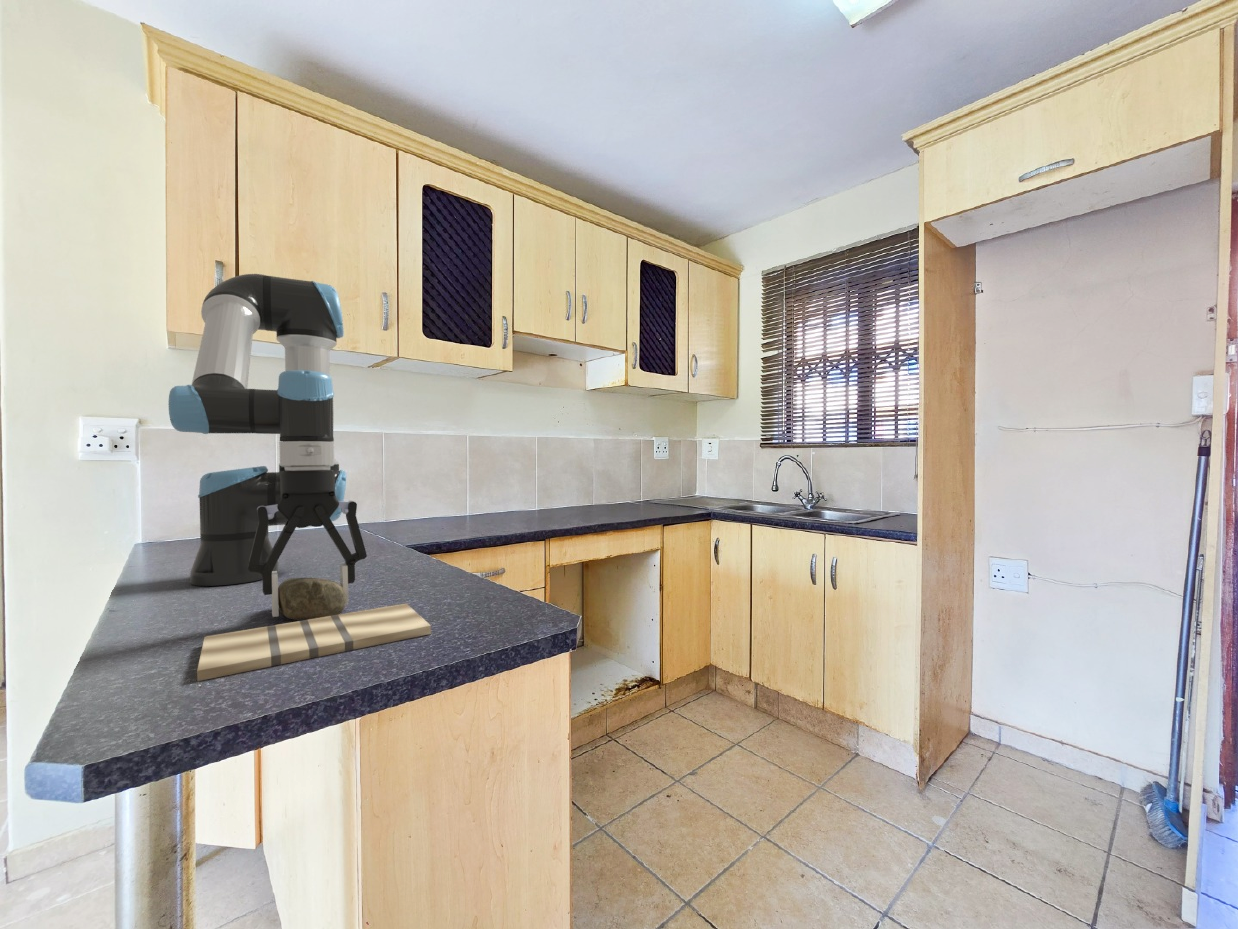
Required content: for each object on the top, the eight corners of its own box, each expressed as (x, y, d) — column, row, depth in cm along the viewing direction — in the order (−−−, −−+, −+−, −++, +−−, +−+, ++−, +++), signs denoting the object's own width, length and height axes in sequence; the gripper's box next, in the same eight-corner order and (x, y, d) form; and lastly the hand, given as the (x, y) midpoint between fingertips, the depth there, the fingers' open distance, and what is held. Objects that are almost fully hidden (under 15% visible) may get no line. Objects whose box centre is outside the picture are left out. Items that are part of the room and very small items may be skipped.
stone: (287, 624, 75) (275, 559, 79) (281, 646, 85) (271, 588, 89) (352, 607, 81) (339, 547, 84) (339, 629, 91) (328, 575, 94)
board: (204, 645, 71) (204, 636, 71) (406, 610, 86) (406, 603, 86) (197, 681, 59) (197, 670, 59) (431, 634, 74) (430, 625, 74)
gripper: (222, 471, 74) (226, 628, 75) (385, 467, 87) (388, 602, 87) (223, 470, 80) (227, 615, 81) (376, 466, 93) (378, 593, 93)
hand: (311, 608), depth 84 cm, fingers closed on stone, 9 cm apart
